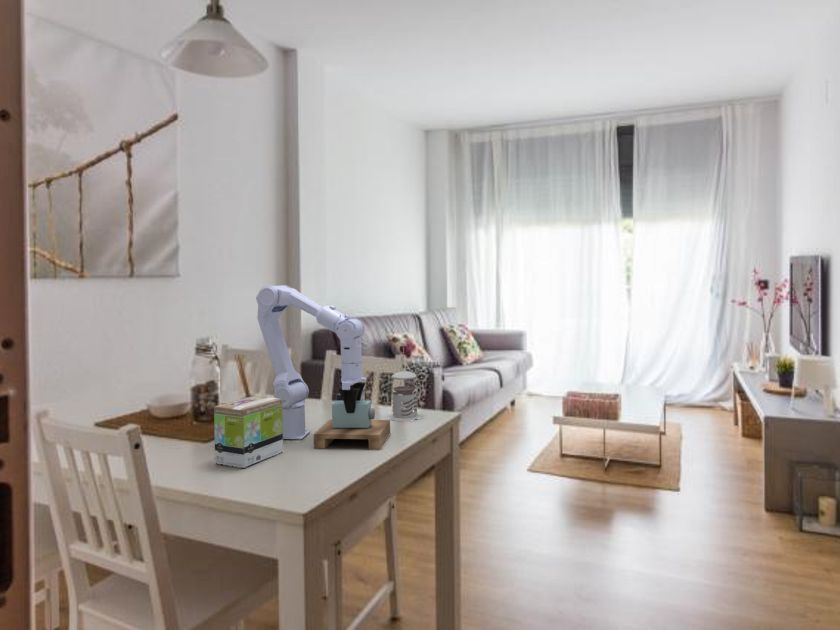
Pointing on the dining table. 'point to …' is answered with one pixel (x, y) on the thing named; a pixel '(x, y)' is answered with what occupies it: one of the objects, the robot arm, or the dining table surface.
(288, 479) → the dining table surface
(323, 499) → the dining table surface
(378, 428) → the stand
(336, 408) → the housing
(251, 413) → the tea box
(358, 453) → the dining table surface
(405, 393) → the french press
